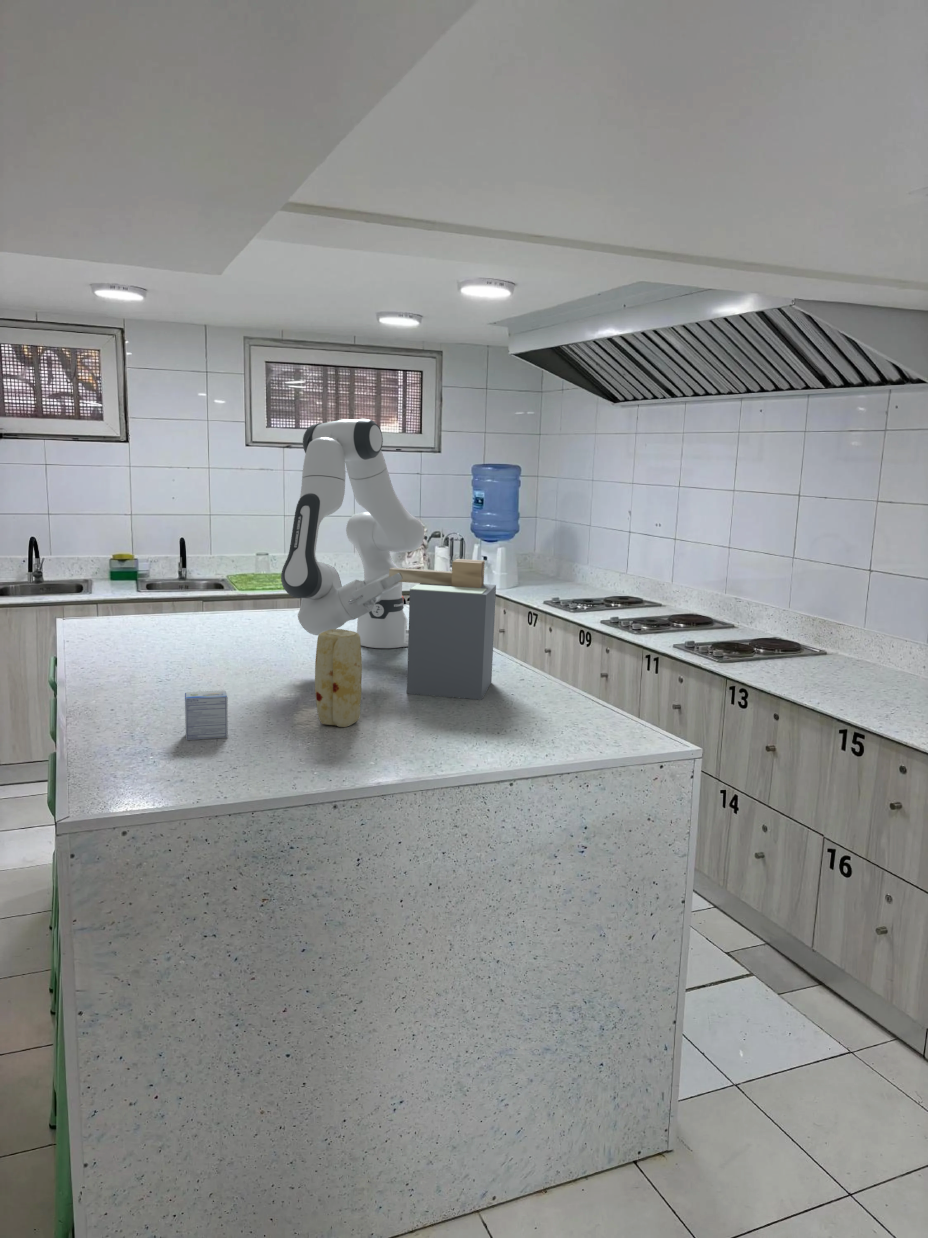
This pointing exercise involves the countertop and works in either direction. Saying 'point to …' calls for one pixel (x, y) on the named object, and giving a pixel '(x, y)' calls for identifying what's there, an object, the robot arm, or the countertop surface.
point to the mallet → (447, 574)
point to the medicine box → (206, 715)
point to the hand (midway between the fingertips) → (405, 573)
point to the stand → (450, 640)
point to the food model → (338, 677)
